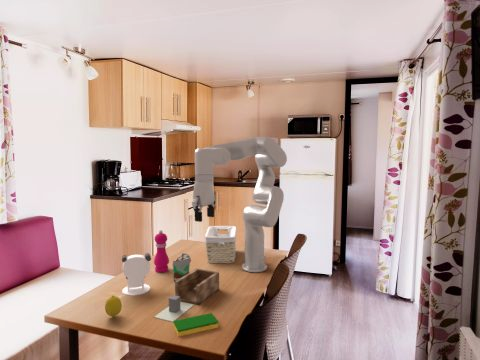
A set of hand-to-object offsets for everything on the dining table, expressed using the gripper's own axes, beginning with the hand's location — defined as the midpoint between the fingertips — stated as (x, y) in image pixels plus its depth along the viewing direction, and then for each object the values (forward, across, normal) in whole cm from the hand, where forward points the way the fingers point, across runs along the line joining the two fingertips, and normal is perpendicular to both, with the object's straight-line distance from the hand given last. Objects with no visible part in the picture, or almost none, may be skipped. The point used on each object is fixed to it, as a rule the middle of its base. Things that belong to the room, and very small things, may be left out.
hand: (204, 219), depth 146 cm
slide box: (+30, +6, 0) cm, 31 cm away
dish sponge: (+31, +28, +13) cm, 44 cm away
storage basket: (+31, -41, -14) cm, 53 cm away
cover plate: (+31, +22, 0) cm, 38 cm away
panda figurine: (+31, +13, -26) cm, 42 cm away
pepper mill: (+31, -10, -31) cm, 45 cm away
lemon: (+31, +35, -17) cm, 49 cm away
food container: (+31, -6, -15) cm, 35 cm away
